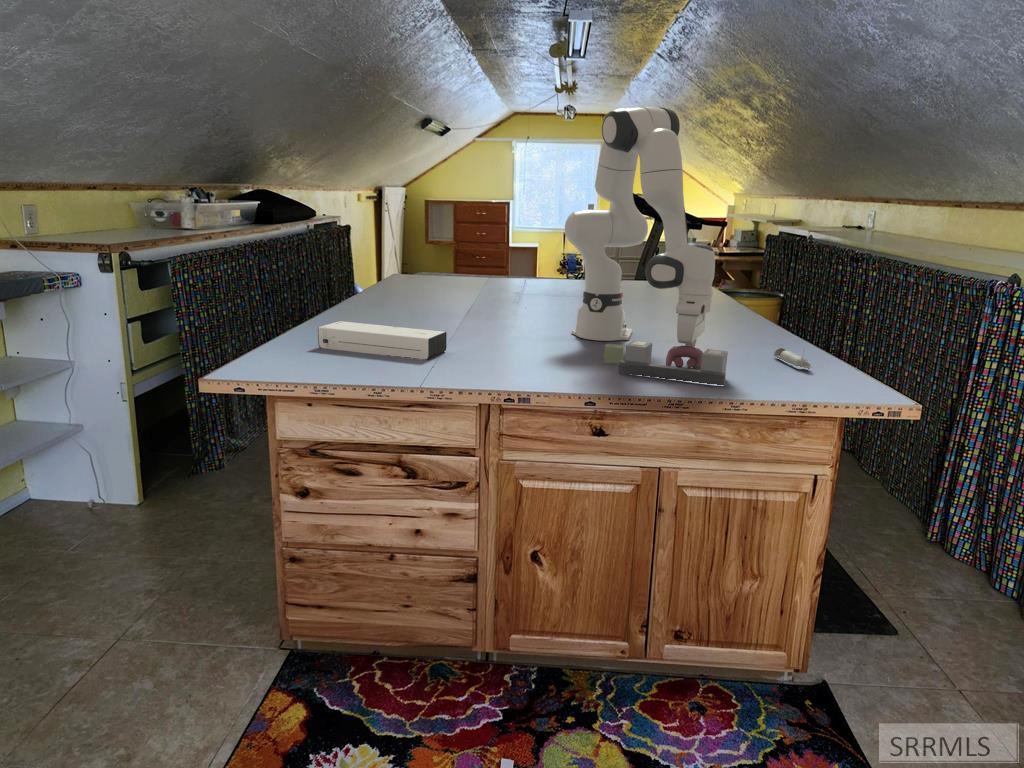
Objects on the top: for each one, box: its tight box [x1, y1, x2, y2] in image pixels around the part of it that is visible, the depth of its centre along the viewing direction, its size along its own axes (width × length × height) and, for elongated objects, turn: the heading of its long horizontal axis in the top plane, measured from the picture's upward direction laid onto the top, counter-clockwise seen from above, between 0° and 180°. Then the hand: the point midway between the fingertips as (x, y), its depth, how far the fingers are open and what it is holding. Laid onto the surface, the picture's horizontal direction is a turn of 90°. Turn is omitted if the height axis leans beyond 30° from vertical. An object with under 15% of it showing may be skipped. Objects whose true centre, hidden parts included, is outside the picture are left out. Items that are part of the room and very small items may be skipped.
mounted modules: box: [624, 340, 729, 374], centre depth 184 cm, size 7×24×7 cm, turn 65°
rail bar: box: [618, 359, 727, 385], centre depth 180 cm, size 2×26×3 cm, turn 65°
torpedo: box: [773, 347, 813, 370], centre depth 200 cm, size 18×5×7 cm, turn 7°
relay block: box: [603, 343, 626, 364], centre depth 198 cm, size 4×5×4 cm
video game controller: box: [665, 345, 704, 370], centre depth 193 cm, size 10×5×7 cm, turn 72°
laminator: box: [317, 320, 448, 360], centre depth 203 cm, size 34×12×6 cm, turn 71°
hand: (689, 354), depth 200 cm, fingers closed
